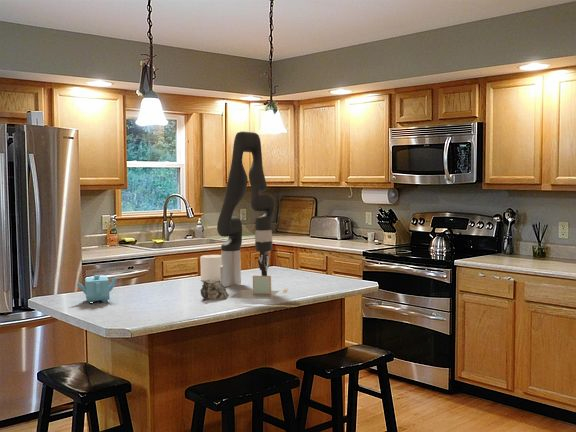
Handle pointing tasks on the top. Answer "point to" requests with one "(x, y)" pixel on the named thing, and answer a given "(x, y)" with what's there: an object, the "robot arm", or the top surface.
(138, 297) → the top surface
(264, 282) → the tile
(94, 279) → the teapot
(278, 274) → the top surface
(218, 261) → the cup
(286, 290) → the turner
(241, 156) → the robot arm
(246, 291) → the board
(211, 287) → the rock
